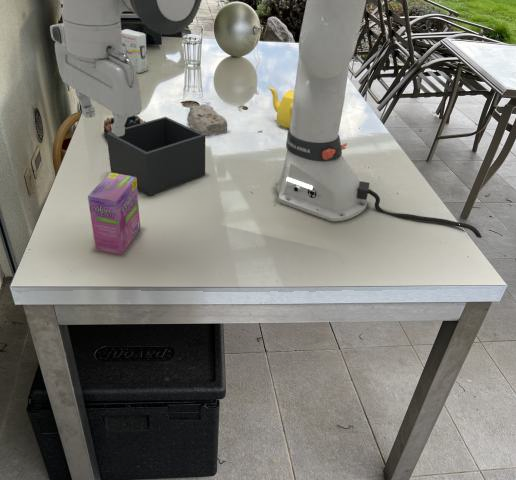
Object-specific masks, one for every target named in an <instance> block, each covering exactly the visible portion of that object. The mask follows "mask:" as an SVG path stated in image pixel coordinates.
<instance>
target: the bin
mask: <svg viewBox="0 0 516 480" xmlns="http://www.w3.org/2000/svg"><path fill="white" fill-rule="evenodd" d="M106 134H107V139H106V142H107V150H108V158H109V167H110V173H116V174H122V175H128V176H133V177H136V178H137V191H139V192H141V193H143V194H145V195H146V196H148V197H151V196H153V195H156V194H159V193H161V192H164V191H167V190H169V189H172V188H175V187H178V186H180V185H182V184H186V183H187V182H191V181H193V180H196V179H199V178H201V177H204V176H206V134H202V133H200V132H198V131H197V130H195V129H194V128H192V127H189V126H187V125H185V124H183V123H180V122H178V121H176V120H174V119H172V118H170V117H167V116H162V117H159V118H156V119H152V120H147V121H146V122H145V123H141V124H137V125H134V126H130V127H126V128H125V134H124V135H123V136H119V137H117V136H116V135H114V134H113V133H112V132H108V133H106Z"/></svg>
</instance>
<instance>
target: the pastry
mask: <svg viewBox="0 0 516 480" xmlns="http://www.w3.org/2000/svg"><path fill="white" fill-rule="evenodd" d="M114 119H115V117H113V116H112V117H107V118H106V120H104V121H103V133H104V138H105V139H106V140H107V134H106V133H108V132H111V130H112V129H111V124H113V123H114ZM145 122H147V121H146V120H143V119H142V118H141V117H140V116H139V115H136V116H132V117H128V118H127V120H126V123H125V125H124V128H126V127H130V126H134V125H137V124H141V123H145Z"/></svg>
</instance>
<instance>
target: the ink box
mask: <svg viewBox="0 0 516 480" xmlns="http://www.w3.org/2000/svg"><path fill="white" fill-rule="evenodd" d="M121 31H122V45H123V52H122V53H124V54H126V55H127V56H128V58H129V61H130V62H131V64H132V65H133V67H134V68H135V70H136V72H137V74H141V73H144V72H147V71H148V61H147V59H148V57H147V33H146V34H145V33H144V32H141V31H136V30H132V29H129V28H125V29H121Z"/></svg>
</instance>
